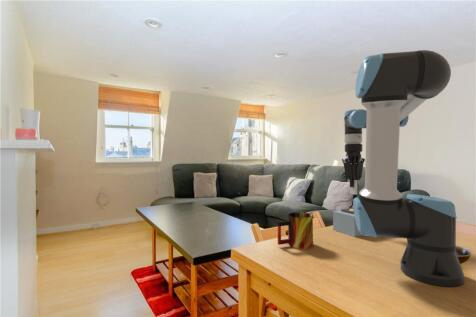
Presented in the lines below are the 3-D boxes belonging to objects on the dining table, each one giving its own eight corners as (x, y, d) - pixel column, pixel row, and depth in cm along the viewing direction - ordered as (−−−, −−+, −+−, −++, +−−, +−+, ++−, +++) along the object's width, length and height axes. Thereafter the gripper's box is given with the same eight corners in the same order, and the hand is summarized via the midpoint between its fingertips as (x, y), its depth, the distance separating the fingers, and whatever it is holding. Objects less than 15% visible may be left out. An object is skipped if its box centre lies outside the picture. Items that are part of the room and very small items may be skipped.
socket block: (354, 237, 113) (354, 214, 113) (333, 230, 124) (333, 209, 124) (375, 232, 119) (375, 210, 119) (353, 226, 130) (353, 206, 130)
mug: (277, 247, 102) (276, 216, 102) (297, 239, 112) (296, 211, 111) (298, 253, 95) (297, 221, 95) (317, 244, 104) (317, 214, 104)
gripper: (350, 142, 115) (350, 196, 115) (369, 143, 121) (370, 194, 121) (336, 143, 122) (337, 194, 122) (356, 144, 128) (356, 192, 127)
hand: (353, 194), depth 121 cm, fingers closed
